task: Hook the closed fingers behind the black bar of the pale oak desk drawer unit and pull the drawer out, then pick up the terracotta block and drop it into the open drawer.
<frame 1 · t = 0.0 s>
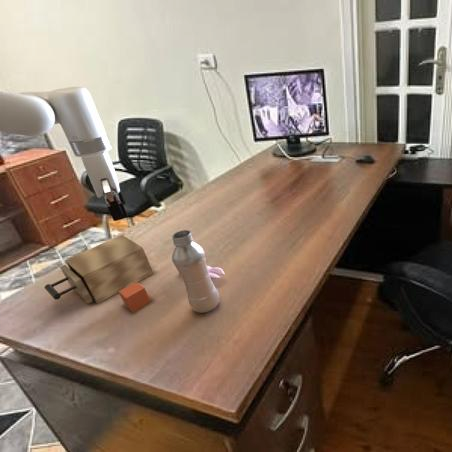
hand: (120, 211, 88), 19 cm above the table, tool pointing down, fingers open, 9 cm apart
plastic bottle: (207, 307, 83), on the table
cabinet: (117, 279, 96), on the table
rabbit figure: (203, 279, 93), on the table
block: (137, 303, 86), on the table
drawer: (91, 276, 90), point 4 cm above the table, slide at 0.5 cm
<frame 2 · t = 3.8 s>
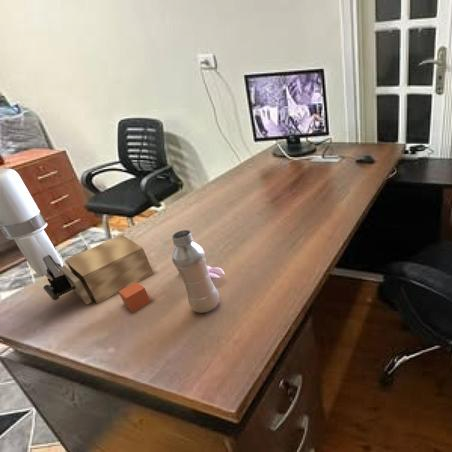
hand: (63, 289, 86), 4 cm above the table, tool pointing down, fingers closed
nothing on the table moved.
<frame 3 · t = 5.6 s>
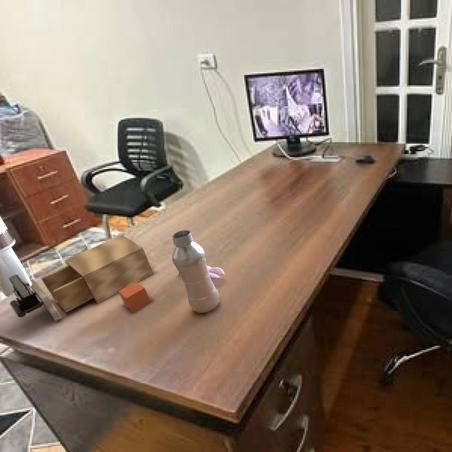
hand: (33, 308, 82), 3 cm above the table, tool pointing down, fingers closed
drawer: (61, 290, 86), point 4 cm above the table, slide at 7.4 cm, touching gripper
everything else where it was.
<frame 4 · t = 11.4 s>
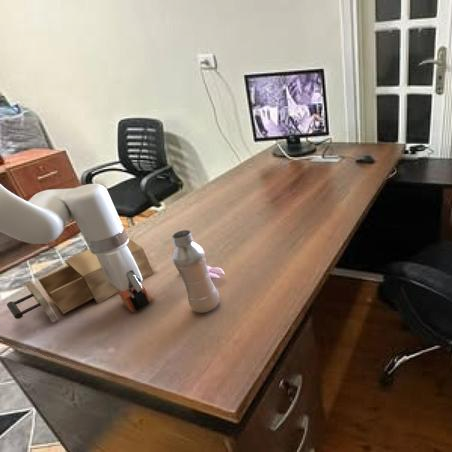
hand: (137, 302, 86), 0 cm above the table, tool pointing down, fingers closed on block, 4 cm apart
block: (137, 303, 86), on the table, touching gripper
drawer: (58, 292, 85), point 4 cm above the table, slide at 8.0 cm
everything else where it was.
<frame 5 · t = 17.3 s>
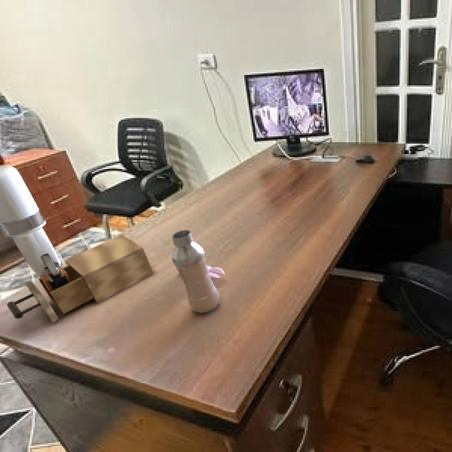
hand: (60, 287, 85), 5 cm above the table, tool pointing down, fingers closed on block, 4 cm apart
block: (61, 288, 86), point 5 cm above the table, touching gripper
everything else where it was.
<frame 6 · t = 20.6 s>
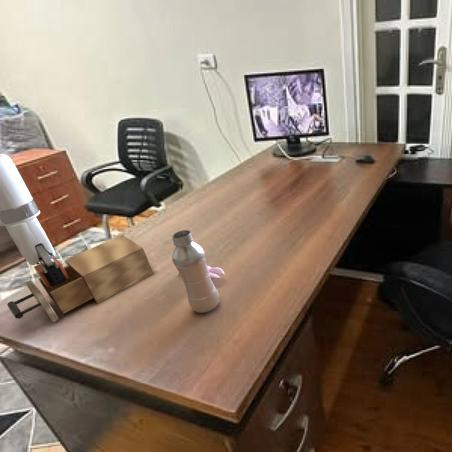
hand: (55, 278, 84), 8 cm above the table, tool pointing down, fingers closed on block, 4 cm apart
block: (56, 279, 84), point 8 cm above the table, touching gripper
everything else where it was.
when the fingers open (8 cm above the table, at t = 30.1 s): block drops 6 cm, resting on drawer.
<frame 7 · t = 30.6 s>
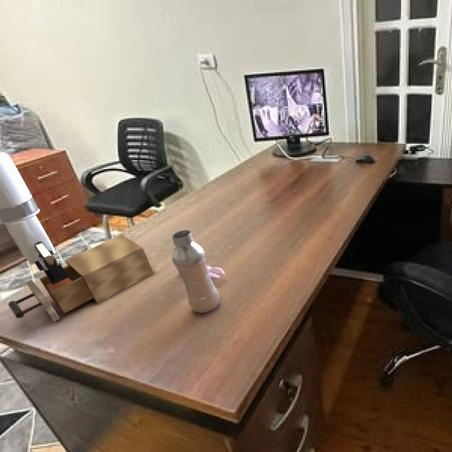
hand: (53, 274, 84), 9 cm above the table, tool pointing down, fingers open, 9 cm apart
block: (67, 297, 87), point 2 cm above the table, touching drawer
drawer: (60, 291, 86), point 4 cm above the table, slide at 7.8 cm, touching block
everything else where it was.
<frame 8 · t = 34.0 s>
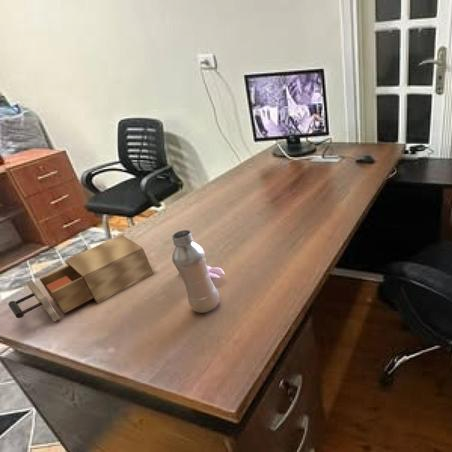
nothing on the table moved.
at the end: drawer slide at 7.8 cm; block inside the target area in the drawer (0.2 cm from its centre), point 2.0 cm above the cabinet's base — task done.
